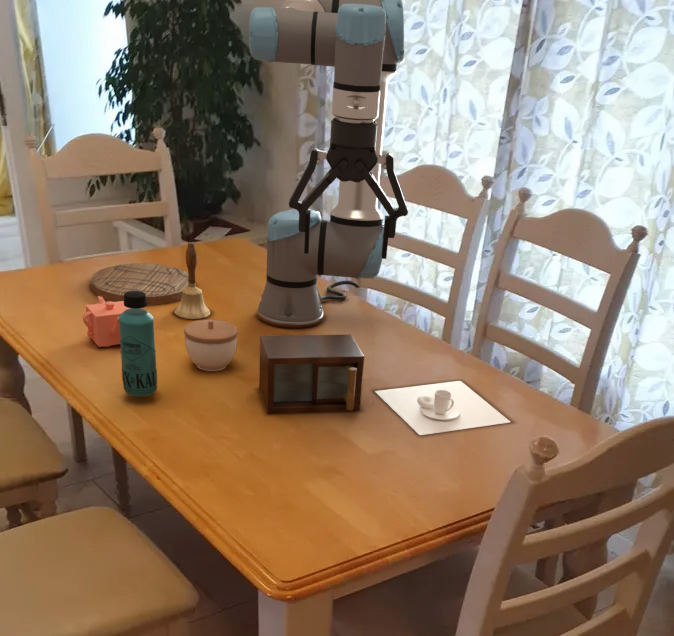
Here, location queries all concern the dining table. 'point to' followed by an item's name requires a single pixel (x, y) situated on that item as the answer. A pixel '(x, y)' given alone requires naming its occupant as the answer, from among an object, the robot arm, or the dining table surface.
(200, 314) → the hand bell
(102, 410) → the dining table surface
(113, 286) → the trivet
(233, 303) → the dining table surface
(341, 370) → the door
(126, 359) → the beverage bottle
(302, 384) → the cabinet
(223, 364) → the trinket box
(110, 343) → the teapot
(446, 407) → the teacup and saucer
